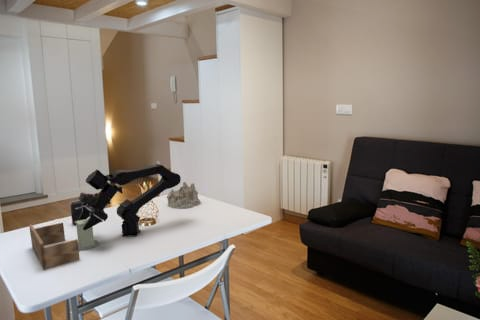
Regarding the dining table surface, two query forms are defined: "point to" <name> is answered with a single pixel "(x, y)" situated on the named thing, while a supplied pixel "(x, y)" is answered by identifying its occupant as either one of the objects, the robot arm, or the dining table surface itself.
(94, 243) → the grey mat
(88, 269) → the dining table surface
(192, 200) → the miniature castle
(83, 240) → the block
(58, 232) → the open box
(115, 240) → the dining table surface
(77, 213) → the battery charger
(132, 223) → the robot arm
